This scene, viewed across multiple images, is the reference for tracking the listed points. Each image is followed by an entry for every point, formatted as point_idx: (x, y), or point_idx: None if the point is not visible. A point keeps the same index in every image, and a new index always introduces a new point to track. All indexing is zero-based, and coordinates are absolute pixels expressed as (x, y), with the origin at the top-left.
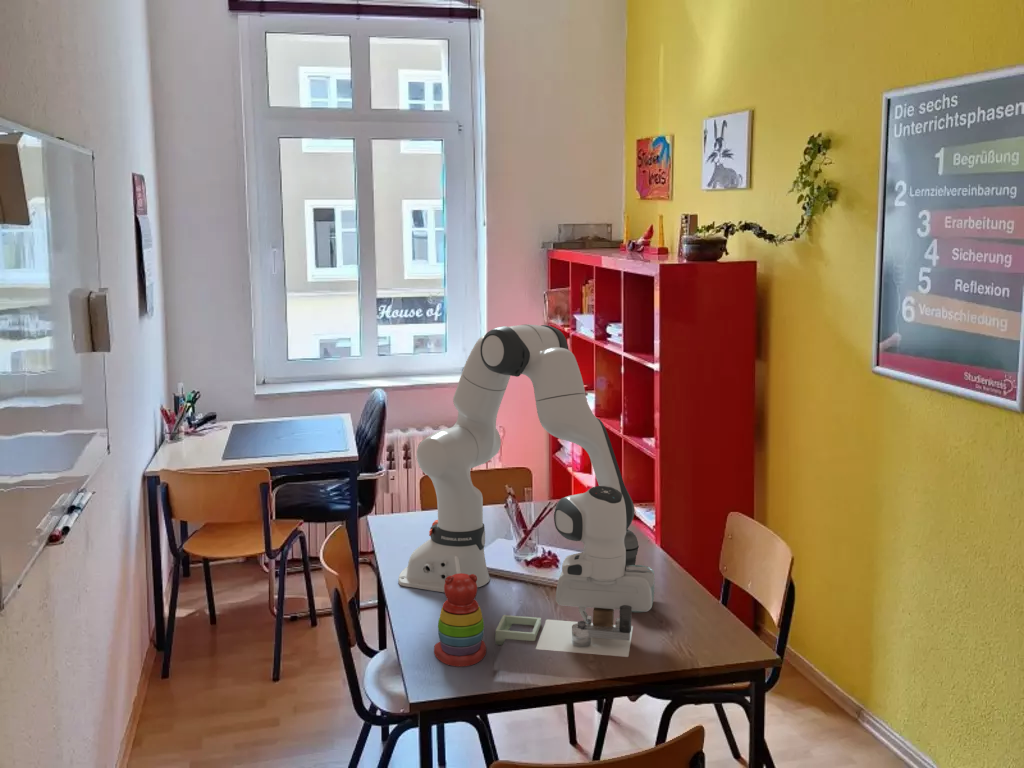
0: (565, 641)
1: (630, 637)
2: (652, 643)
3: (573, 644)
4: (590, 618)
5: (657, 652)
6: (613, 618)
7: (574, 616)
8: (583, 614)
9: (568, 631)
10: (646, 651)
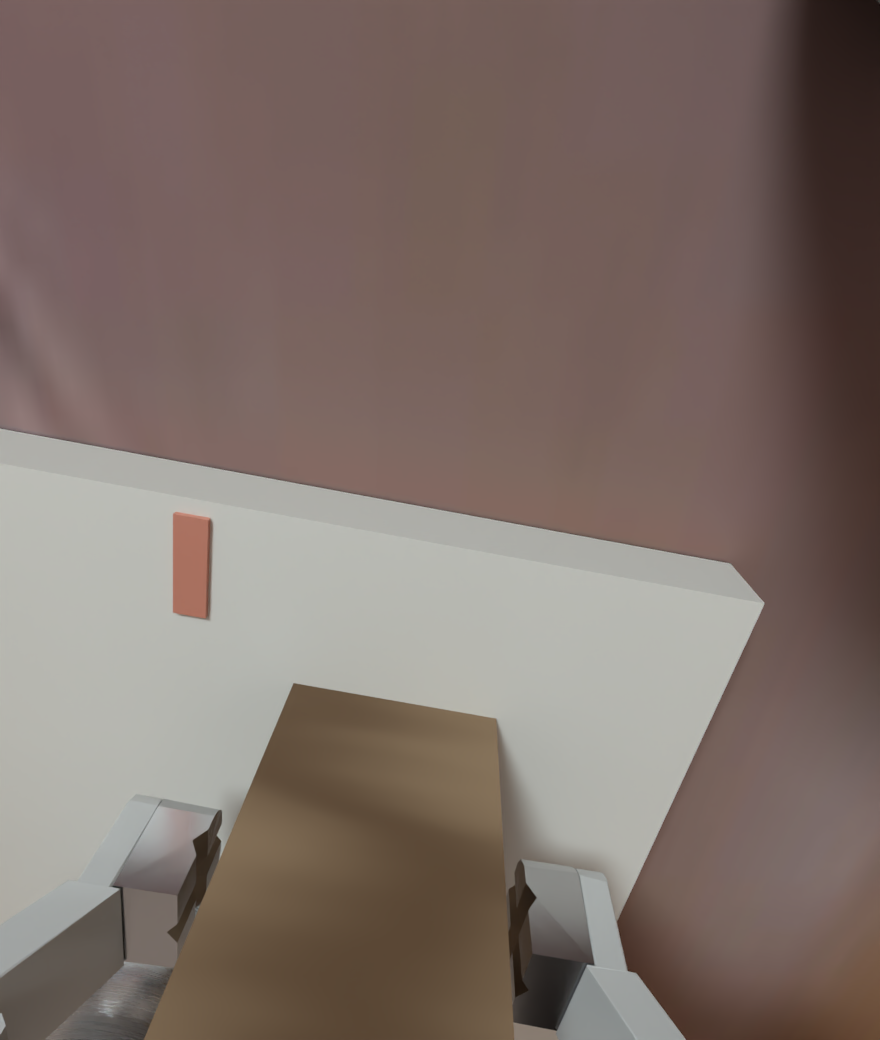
0: (43, 873)
1: (648, 831)
2: (842, 768)
3: None
4: (172, 950)
5: (816, 894)
6: (501, 869)
7: (6, 35)
8: (38, 1030)
9: (21, 706)
10: (732, 878)
